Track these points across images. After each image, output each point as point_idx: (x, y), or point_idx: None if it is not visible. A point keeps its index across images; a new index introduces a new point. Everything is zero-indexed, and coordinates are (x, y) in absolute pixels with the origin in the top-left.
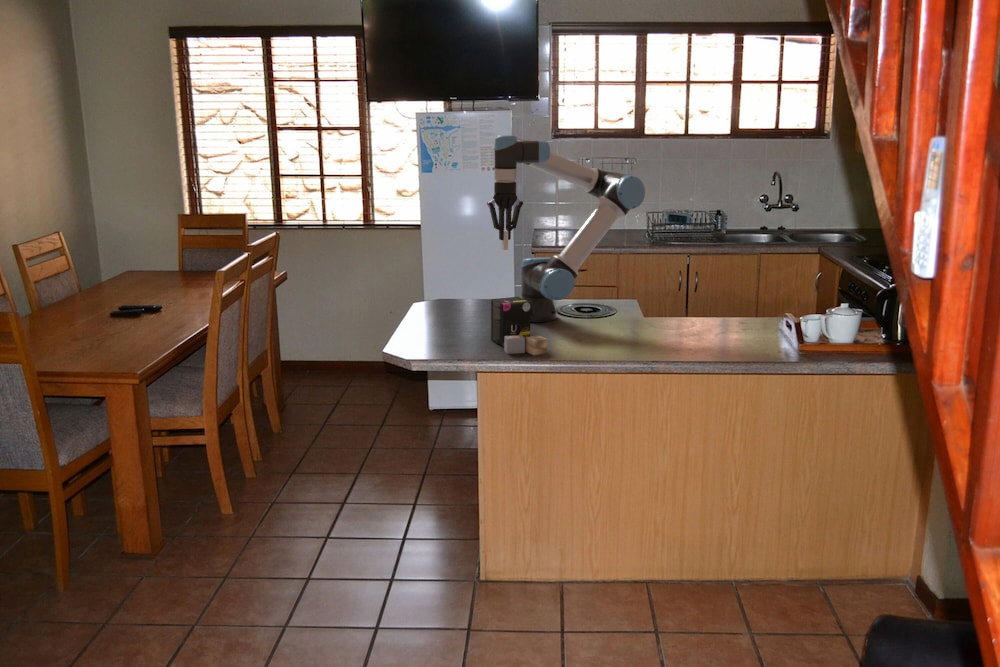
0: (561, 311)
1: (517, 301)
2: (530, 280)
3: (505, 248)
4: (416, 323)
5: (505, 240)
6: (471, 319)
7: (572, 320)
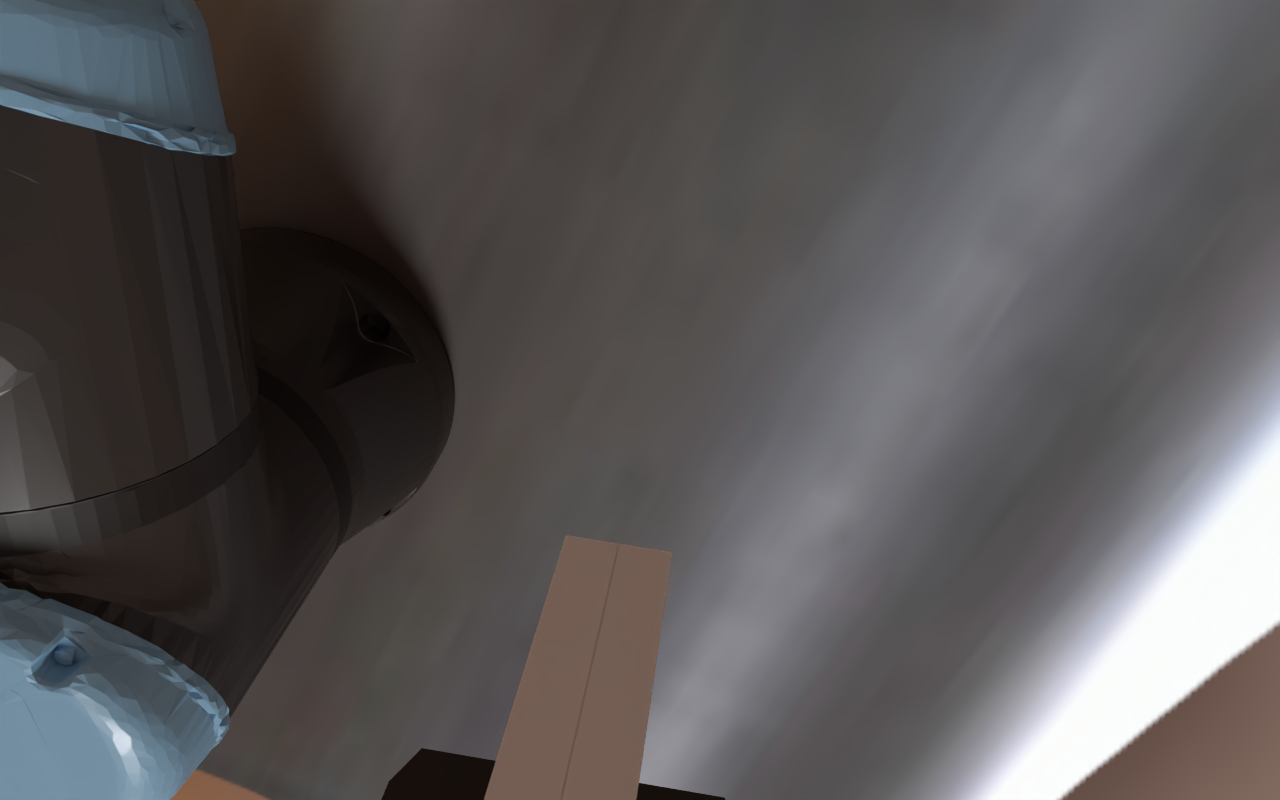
0: None
1: None
2: (242, 430)
3: (630, 568)
4: (1213, 615)
5: (599, 731)
6: (782, 541)
7: None
